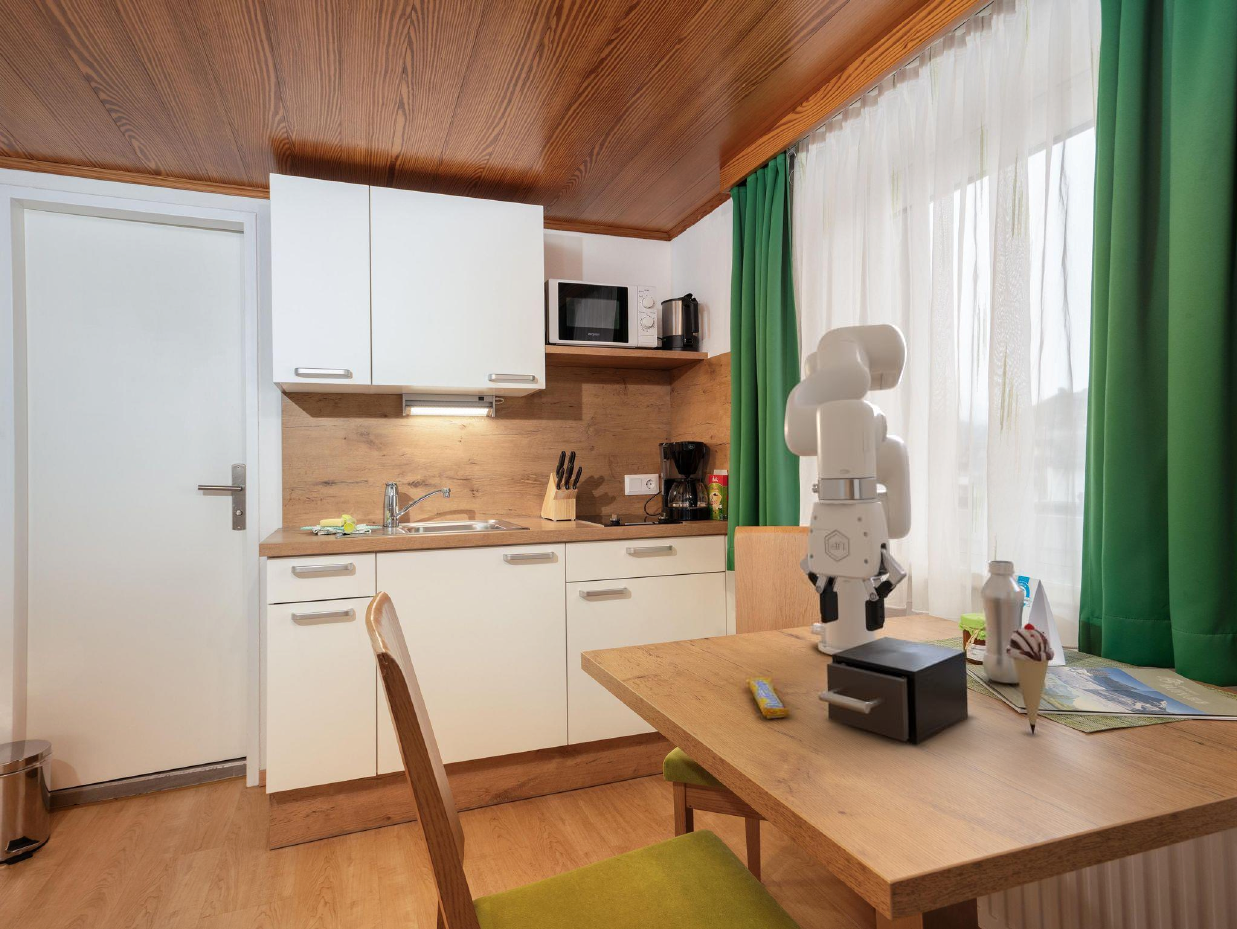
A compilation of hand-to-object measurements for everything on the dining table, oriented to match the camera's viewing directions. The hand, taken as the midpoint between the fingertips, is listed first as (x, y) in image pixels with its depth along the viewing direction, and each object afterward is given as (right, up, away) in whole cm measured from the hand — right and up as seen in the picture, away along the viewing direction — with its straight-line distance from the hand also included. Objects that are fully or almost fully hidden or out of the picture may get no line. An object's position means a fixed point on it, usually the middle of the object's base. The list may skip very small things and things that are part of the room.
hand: (851, 624), depth 94 cm
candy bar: (-8, -16, +16) cm, 24 cm away
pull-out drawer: (+5, -15, +4) cm, 16 cm away
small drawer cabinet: (+10, -15, +7) cm, 19 cm away
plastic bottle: (+33, -15, +23) cm, 43 cm away
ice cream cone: (+24, -15, 0) cm, 29 cm away
